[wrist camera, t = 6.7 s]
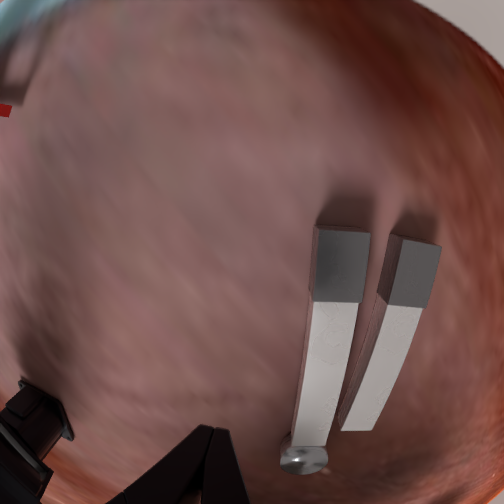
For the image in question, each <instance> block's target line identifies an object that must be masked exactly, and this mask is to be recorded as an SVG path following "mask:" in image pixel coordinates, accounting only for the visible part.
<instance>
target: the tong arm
mask: <svg viewBox="0 0 504 504" xmlns="http://www.w3.org/2000/svg"><path fill="white" fill-rule="evenodd" d="M370 236H371V233H370V232H368V231H366V230H364V229H362V228H360V227H345V226H330V225H314V227H313V242H312V256H311V268H310V279H309V291H310V297H309V307H308V316H307V325H306V333H305V341H304V349H303V356H302V364H301V371H300V378H299V384H298V391H297V397H296V403H295V409H294V415H293V421H292V427H291V434H290V435H288V436H287V437H285V438H284V439H283V440H282V442H281V447H280V466H281V468H282V469H283V470H284V471H286V472H288V473H291V474H297V475H304V474H311V473H314V472H317V471H319V470H321V469H322V468H324V467H325V466H326V465H327V463H328V453H327V446H326V441H327V438H328V434H329V431H330V428H331V424H332V421H333V417H334V414H335V410H336V407H337V403H338V399H339V395H340V391H341V388H342V383H343V379H344V375H345V371H346V367H347V362H348V357H349V353H350V348H351V343H352V338H353V333H354V328H355V322H356V317H357V311H358V305H359V303H362V299H363V292H364V285H365V278H366V271H367V263H368V255H369V246H370Z"/></svg>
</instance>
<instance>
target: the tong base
mask: <svg viewBox="0 0 504 504" xmlns="http://www.w3.org/2000/svg"><path fill="white" fill-rule="evenodd" d="M441 249H442V247H441V246H439V245H436V244H434V243H431V242H429V241H426V240H422V239H417V238H412V237H407V236H402V235H396V234H391V233H390V234H389V240H388V245H387V250H386V254H385V259H384V264H383V268H382V272H381V277H380V281H379V285H378V289H377V293H378V295H377V299H376V303H375V306H374V310H373V313H372V317H371V320H370V324H369V327H368V330H367V334H366V337H365V340H364V343H363V346H362V349H361V352H360V355H359V358H358V361H357V364H356V367H355V370H354V373H353V375H352V378H351V381H350V384H349V386H348V389H347V391H346V394H345V397H344V399H343V402H342V404H341V407H340V409H339V411H338V414H337V416H338V421H339V425H340V430H341V431H369V430H372V428H373V427H374V425H375V423H376V421H377V419H378V417H379V415H380V413H381V411H382V409H383V407H384V405H385V403H386V401H387V399H388V397H389V395H390V392H391V390H392V388H393V386H394V384H395V381H396V379H397V377H398V374H399V372H400V370H401V367H402V365H403V362H404V360H405V357H406V355H407V352H408V350H409V347H410V344H411V342H412V339H413V336H414V333H415V330H416V328H417V325H418V322H419V319H420V315H421V312H422V309H423V308H426V307H427V303H428V300H429V297H430V293H431V290H432V286H433V282H434V279H435V275H436V271H437V267H438V262H439V258H440V254H441Z"/></svg>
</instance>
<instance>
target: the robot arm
mask: <svg viewBox="0 0 504 504" xmlns="http://www.w3.org/2000/svg"><path fill="white" fill-rule="evenodd" d="M18 385H19V387H20V391H19V392H18V393H17V394H16V395H15V396H14V397H12V398H11V399H10V400H9V401H8V402H7V403H6V404H5V406H6V407H5V408H4V409H3V410H2V411H1V412H0V504H37V503H38V502H39V501H40V499H41V498H42V496H43V494H44V491H45V489H46V487H47V485H48V483H49V481H50V479H51V477H52V475H53V473H54V471H53V470H52V469H51V468H49V467H48V466H46V465H45V464H44V463H43V462H42V461H43V459H44V458H45V457H46V456H47V454H48V453H49V452H50V450H51V449H52V448H53V447H54V445H55V444H56V443H57V441H58V440H59V439H60V438H61V437H63V438H65V439H67V440H69V441H73V440H74V437H73V435H72V432H71V430H70V427H69V424H68V422H67V419H66V416H65V414H64V411H63V408H62V405H61V403H60V402H59V401H58V400H57V399H55V398H53V397H51V396H49V395H47V394H45V393H43V392H41V391H40V390H38V389H36V388H34V387H32V386H31V385H29V384H27V383H26V382H24V381H22V380H20V381H18ZM123 492H124V493H123ZM123 492H120V493H119V494H118V495H117V496H115V497H114V498H113V499H111V500H110V501H108V502H107V503H105V504H198V502H199V499H200V497H201V504H251V501H250V498H249V495H248V492H247V489H246V486H245V483H244V479H243V476H242V473H241V470H240V466H239V463H238V459H237V456H236V453H235V449H234V446H233V442H232V438H231V435H230V431H229V430H228V429H224V428H219V427H216V428H214V427H212V426H208V425H203V424H200V425H198V426H197V427H196V428H195V429H194V430H193V431H192V432H191V433H190V434H189V435H188V436H187V437H185V438H184V439H183V440H182V441H181V442H180V443H179V444H178V445H177V446H176V447H174V448H173V449H172V450H171V451H170V452H169V453H168V454H167V455H165V456H164V457H163V458H162V459H161V460H160V461H159V462H157V463H156V464H155V465H154V466H153V467H151V468H150V469H149V470H148V471H147V472H146V473H144V474H143V475H142V476H141V477H139V478H138V479H137V480H136V481H135V482H133V483H132V484H131V485H130V486H128V487H127V488H126V489H124V490H123ZM201 494H202V495H201Z"/></svg>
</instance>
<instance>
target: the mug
mask: <svg viewBox="0 0 504 504" xmlns="http://www.w3.org/2000/svg"><path fill="white" fill-rule="evenodd" d="M11 109H12V106H10V105H5V104H0V116H3V117H9V115H10V112H11Z"/></svg>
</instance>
